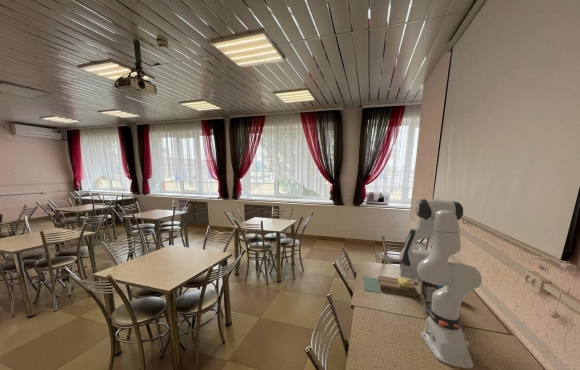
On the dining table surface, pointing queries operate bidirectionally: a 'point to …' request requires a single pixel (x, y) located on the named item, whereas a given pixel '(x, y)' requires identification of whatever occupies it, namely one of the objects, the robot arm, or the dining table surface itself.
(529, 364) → the dining table surface
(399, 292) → the board
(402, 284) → the yellow block
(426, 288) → the coffee box
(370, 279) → the mat
